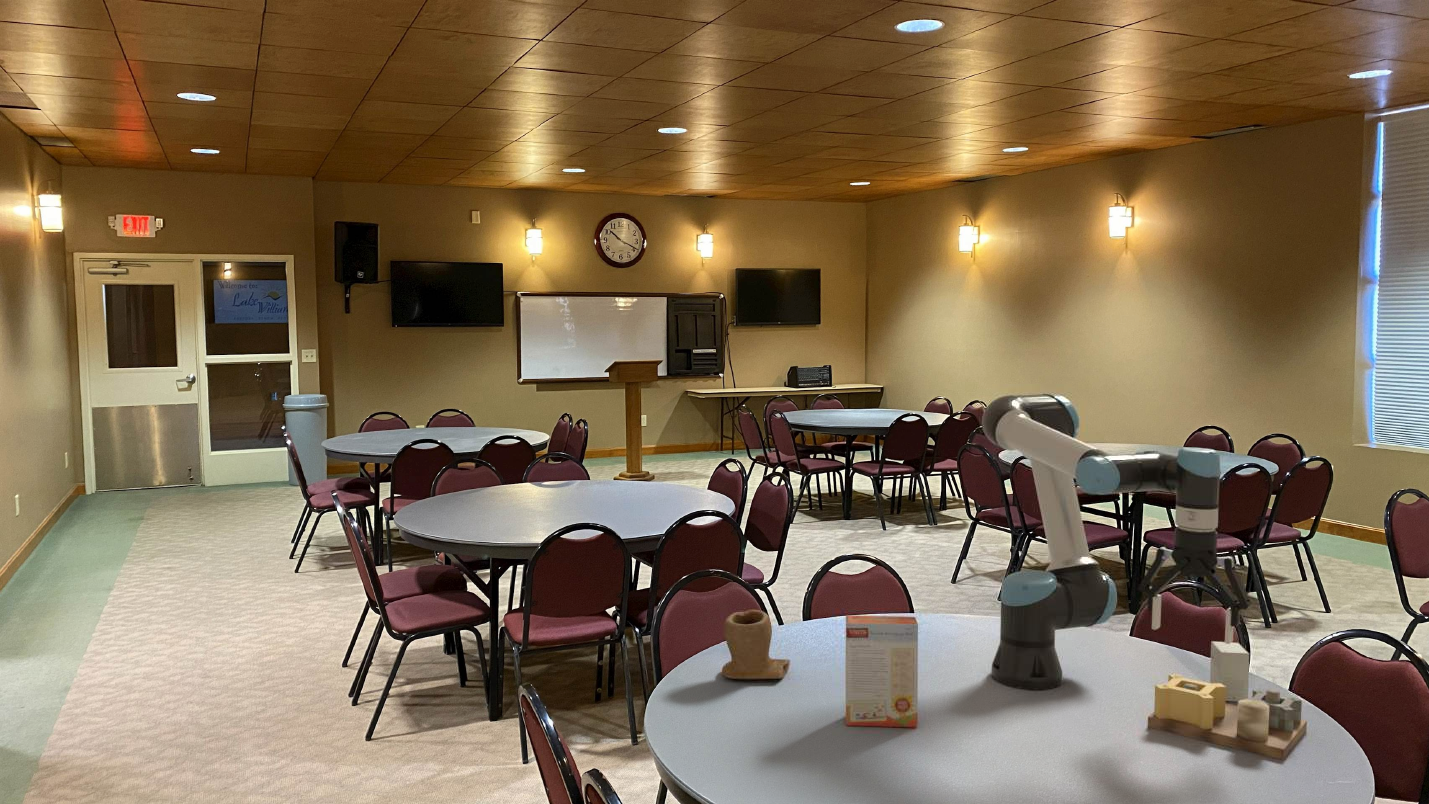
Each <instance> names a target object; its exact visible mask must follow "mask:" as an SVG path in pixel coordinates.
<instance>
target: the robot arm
mask: <svg viewBox="0 0 1429 804" xmlns="http://www.w3.org/2000/svg"><path fill="white" fill-rule="evenodd" d="M981 426H982V431H983V433H984V435H985V437H986V438H987V439H988V441H990V442H991V443H992V444H994V445H995V446H997V447H999V448H1001V449H1002V450H1003V449H1004V450H1005V451H1010V452H1011V451H1018V452H1019V453H1021V454H1022V456H1023V457H1024V458H1026V459H1027V460H1028V461H1029V462H1030V466H1031V470H1032V474H1033V475H1032V476H1033V479H1034V485H1035V489H1036V495H1037V500H1038V504H1039V509H1040V510H1039V511H1040V514H1041V518H1042V519H1041V520H1042V524H1043V529H1044V534H1045V538H1046V544H1047V549H1048V555H1049V559H1050V563H1049V565H1048V567H1046V569H1045V570H1039V569H1035V570H1031V569H1030V570H1022V571H1016V572H1012V573H1010V574H1008V575H1007V576H1005V578H1004V579H1003V581H1002V583H1001V592H1000V596H999V598H1000V631H999V632H1000V635H999V636H1000V637H999V644H998V647H997V650H996V653H995V656H994V658H993V661H992V663H991V671H990V672H991V678H992V679H993V680H995V681H996V682H998V683H999V684H1002V685H1006V686H1007V687H1013V688H1017V689H1022V690H1047V689H1048V690H1049V689H1054V688H1057V687H1059V686H1061V685H1062V683H1063V669H1062V666H1061V663H1060V660H1059V656H1058V653H1057V650H1056V647H1055V646H1056V645H1055V643H1056V631H1057V630H1065V629H1068V630H1069V629H1074V628H1082V627H1085V628H1086V627H1087V628H1088V627H1093V626H1096V625H1101V624H1105V623H1106V622H1107V621H1108V620H1110V618H1111V617H1112V616H1113V613H1114V612H1115V610H1116V607H1117V603H1118V593H1117V587H1116V585H1115V582H1114V581H1113V579H1112V578H1110V576H1109V574H1107V573H1105V572H1103V571H1101V568H1100V564H1099V562H1098V561H1097V560H1096V559H1094V558H1093V557H1091V555H1090V550H1089V547H1088V540H1087V537H1086V531H1085V527H1084V523H1083V517H1082V513H1081V509H1080V503H1079V498H1078V494H1077V489H1076V484H1077V485H1078V486H1079V487H1080V490H1081V491H1082V492H1084V493H1085V494H1088V495H1098V496H1100V495H1101V496H1103V495H1104V496H1106V495H1111V494H1112V495H1113V494H1122V493H1137V492H1138V493H1139V492H1148V491H1150V492H1151V491H1161V492H1166V493H1171V494H1175V496H1176V497H1175V524H1176V526H1177V527H1176V528H1175V529H1174V540H1173V541H1174V543H1173V544H1174V547H1173V549H1168V548H1167V547H1166V546H1162V547H1160V548H1157V550H1156V553H1155V554H1156V555H1155V559H1154V560H1153V562H1152V564H1151V566H1150V567H1149V569H1148V571H1147V572H1146V573H1145V576H1144V577H1143V579H1142V581H1141V583H1139V586H1138V591H1140V592H1143V593H1145V594H1146V595H1147V611H1149V612H1151V614H1152V615H1151V630H1154V631H1157V630H1158V629H1159V628H1160V627H1161V620H1162V619H1161V618H1162V617H1161V615H1162V594H1158V593H1159V592H1160V591H1161V590H1162V589H1163V588H1165V586H1166V585H1167V584H1169V583H1170V582H1171V581H1172V580H1173V579H1174V578H1175V577H1176V576H1178V575H1179V574H1180V573H1182V574H1183V575H1184V576H1194V577H1198V578H1202V577H1205V578H1206V579H1207V581H1209V582H1210V583H1211V584H1212V586H1213V587H1214V588H1215V590H1216V591H1217V592H1218V593H1219V595H1220V596H1221V597H1222V599H1223V600H1224V601H1225V602H1226V604H1227V606H1228V607H1229V608H1227V609H1226V611H1225V631H1224V642H1225V643H1226V644H1230V643H1231V642H1232V643H1233V642H1234V628H1237V627H1238V626H1239V625H1240V624H1241V623H1240V621H1241V620H1240V618H1241V616H1240V615H1241V610H1246V609H1248V608H1250V607H1251V606H1252V602H1251V599H1250V597H1249V594H1248V592H1247V591H1246V588H1245V586H1244V585H1243V582H1242V580H1241V577H1240V575H1239V574H1238V571H1237V569H1236V561H1235V557H1234V556H1231V555H1229V556H1228V557H1225V556H1224V557H1223V556H1222V557H1220V556H1218V554H1217V553H1218V552H1217V549H1218V548H1217V547H1218V531H1217V530H1216V529H1217V528H1218V525H1219V495H1220V479H1221V475H1222V472H1221V457H1220V453H1219V452H1218V451H1216V450H1215V449H1212V448H1207V447H1206V448H1203V447H1183V448H1180V449H1179V450H1178V452H1177V455H1176V454H1169V453H1164V452H1159V451H1157V450H1140V451H1137V452H1136V453H1133V454H1112V453H1108V452H1106V451H1104V450H1102V449H1099V448H1097V447H1095V446H1092V445H1091V444H1088V443H1086V442H1084V441H1081V440H1079V439H1077V436H1078V433H1079V430H1078V429H1079V428H1080V419H1079V415H1078V412H1077V409H1076V407H1075V406H1074V405H1073V403H1072V402H1071V401H1070V400H1069V399H1067V398H1066V397H1065V396H1062V395H1061V394H1052V393H1051V394H1049V393H1042V394H1026V395H1025V394H1024V395H1022V394H1021V395H1019V394H1018V395H1004V396H1001V397H997V398H996V399H994V400H992V401H991V402H990V403H989V404H988V405H987V406H986V407H985V409H984V412H983V415H982V418H981ZM1074 479H1075V481H1076V484H1075V481H1074ZM1170 557H1171V558H1172V560H1173V562H1174V563H1175V565H1174V566H1173V567H1172V568H1170V570H1169V571H1168V572H1167V573H1166V574H1165V575H1164V576H1162V577H1161V578H1160V579H1159V580H1158V581H1157V582H1156V583H1155V584H1154V585H1153V586H1151V584H1152V583H1153V581H1154V579H1155V578H1156V576H1157V574H1158V572H1159V571H1160V569H1161V568H1162V566H1163V565H1164V563H1165V561H1166V560H1168V559H1169V558H1170ZM1218 564H1219V565H1220V566H1221V569H1224V572H1225V574H1226V576H1227V580H1228V582H1229V584H1230V586H1231V588H1232V590H1233V592H1234V594H1233V592H1232V591H1231V589H1230V588H1229V586H1228V585H1227V584H1226V583H1225V581H1224V580H1223V579H1222V577H1221V576H1220V574H1219V572H1218V571H1217V570H1216V568H1215V567H1216V566H1218Z"/></svg>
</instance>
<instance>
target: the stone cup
mask: <svg viewBox="0 0 1429 804" xmlns="http://www.w3.org/2000/svg"><path fill="white" fill-rule="evenodd" d="M723 626H724V638H725V642H726V644H727V647H728V651H729V653H730V656H731V658H730V659H731V660H729V661H728V662H726V663H725V664H724V665H723V667H722V668H721V673H722V675H723V676H724V677H726V678H727V679H730V680H731V679H733V680H773V679H777V680H778V679H780V680H781V679H784V678H785V677H786V675H787V674H788V672H789V670H790V669H789V668H790V665H791V659H785V658H784V659H782V658H781V659H776V658H771V657H770V647H771V643H772V642H771V641H772V635H773V625H772V621H771V618H770V616H769V615H768V614H767V613H766V612H765V611H762V610H759V609H748V610H746V611H737V612H736V611H735V612H733V613H732V614H730V615H729V616H728V617H727V618H726V619H725V621H724V625H723Z"/></svg>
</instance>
